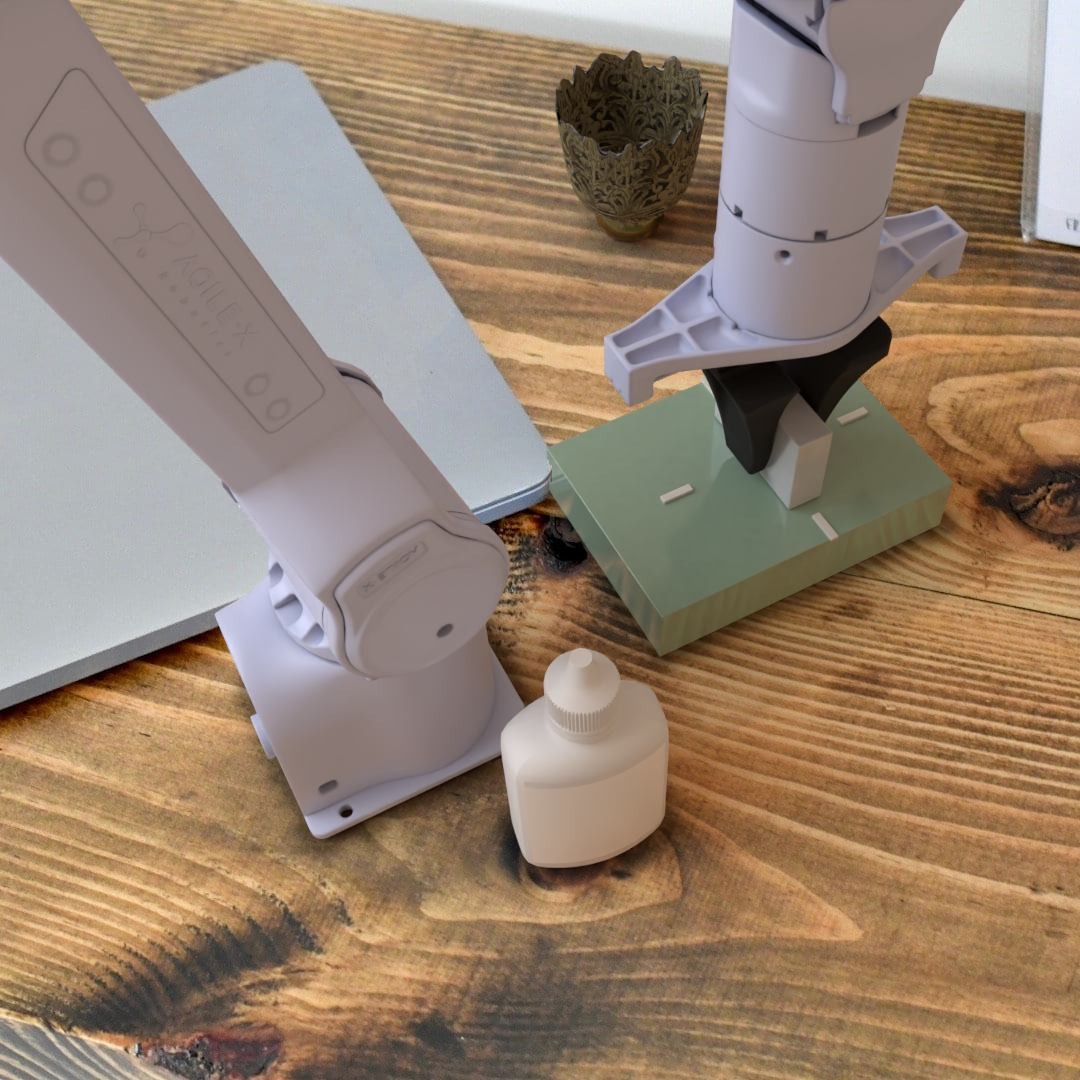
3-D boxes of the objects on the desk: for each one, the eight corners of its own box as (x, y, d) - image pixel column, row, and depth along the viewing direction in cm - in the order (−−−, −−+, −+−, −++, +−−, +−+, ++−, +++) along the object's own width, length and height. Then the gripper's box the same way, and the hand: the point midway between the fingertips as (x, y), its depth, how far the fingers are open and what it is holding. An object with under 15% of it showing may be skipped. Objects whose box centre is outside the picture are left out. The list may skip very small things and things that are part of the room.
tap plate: (661, 659, 53) (663, 617, 51) (547, 488, 59) (544, 443, 57) (941, 526, 57) (956, 481, 54) (808, 377, 62) (816, 329, 60)
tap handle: (821, 496, 54) (835, 428, 51) (788, 510, 54) (800, 444, 50) (744, 402, 57) (752, 333, 54) (713, 415, 57) (719, 346, 54)
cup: (538, 252, 68) (530, 123, 62) (588, 167, 72) (585, 37, 66) (674, 284, 66) (680, 154, 60) (718, 195, 70) (727, 64, 64)
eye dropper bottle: (653, 889, 48) (662, 734, 38) (503, 864, 49) (475, 706, 39) (670, 782, 50) (682, 610, 41) (527, 759, 51) (505, 586, 41)
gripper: (910, 62, 48) (856, 327, 59) (560, 189, 45) (572, 446, 56) (1035, 168, 44) (953, 431, 55) (662, 316, 41) (653, 565, 52)
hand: (767, 446), depth 55 cm, fingers closed on tap handle, 2 cm apart
